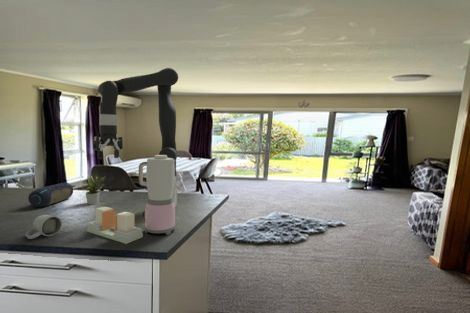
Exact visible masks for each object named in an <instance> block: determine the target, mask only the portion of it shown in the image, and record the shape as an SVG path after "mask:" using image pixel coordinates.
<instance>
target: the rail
mask: <svg viewBox="0 0 470 313" xmlns="http://www.w3.org/2000/svg"><path fill="white" fill-rule="evenodd" d="M87 224H88V226H87V228H86V231H87V232H88V233H91V234H94V235H96V236H97V235H98V236H101V237H103V238H106V239H110V240H113V241H116V242H118V243H119V242H120V243H122V244H125V245H127V244H130V243H132V242H134V241H137V240H140V239H141V238H144V233H143V229H142V228H140V227H136V226H135V213H133V212H130V211H129V212H128V211H123V212H120V213H117V214H115V216H114V227H110V228H108V229H106V230H102V229H101V225H98V224H96V220H93V221H90V222H88V223H87Z"/></svg>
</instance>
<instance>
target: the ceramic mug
mask: <svg viewBox="0 0 470 313" xmlns="http://www.w3.org/2000/svg"><path fill="white" fill-rule="evenodd" d="M62 224H63V222H62V219H61V218H60V217H59V216H56V215H50V214H42V215H38V216H37V217H36V218H35V219H34V220H33V221H32V228H31V229H30V230H28V231H27V232H26V233H25V237H26V238H27V239H28V240H34V239H36V238H38V237H39V236H44V237H54V236H55V235H56V234H58V233H59V232H60V231H61V229H62V226H63V225H62Z"/></svg>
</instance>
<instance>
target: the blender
mask: <svg viewBox="0 0 470 313" xmlns="http://www.w3.org/2000/svg"><path fill="white" fill-rule="evenodd" d="M153 156H154V157H148V158H147V159H146V161H142V162H141V163H139V165H138V184H139V185H140V186H143V187H146V189H147V195H148V197H147V198H148V200H147V202H146V205H145V209H144V211H142V217H143V218H144V224H145V225H144V231H145V234H148V233H150V234H151V233H152V234H165V235H166V236H169V235H171V234H172V231H174V230H175V229H176V207H175V206H174V203H173V201H172V194H173V188H174V180H175V167H174V162H175V160H174V159H173V158H167V155H159V154H155V155H153ZM144 167H146V177H145V178H146V181H144Z"/></svg>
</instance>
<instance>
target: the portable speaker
mask: <svg viewBox="0 0 470 313" xmlns="http://www.w3.org/2000/svg"><path fill="white" fill-rule="evenodd" d="M73 193H74V187H73V186H72V184H70V183H69V182H60V183H57V184H51V185H47V186H43V187H40V188H36V189H34V190H32V191H31V192H30V193H29V195H28V196H27V198H28V202H29V204H30V205H31V206H33V207H36V208H44V207H46V206H47V207H48V206H50V205H53V204H56V203H58V202H59V203H60V202H61V201H62V202H63V201H65V200H68V199H70V198H72V196H73Z"/></svg>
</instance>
